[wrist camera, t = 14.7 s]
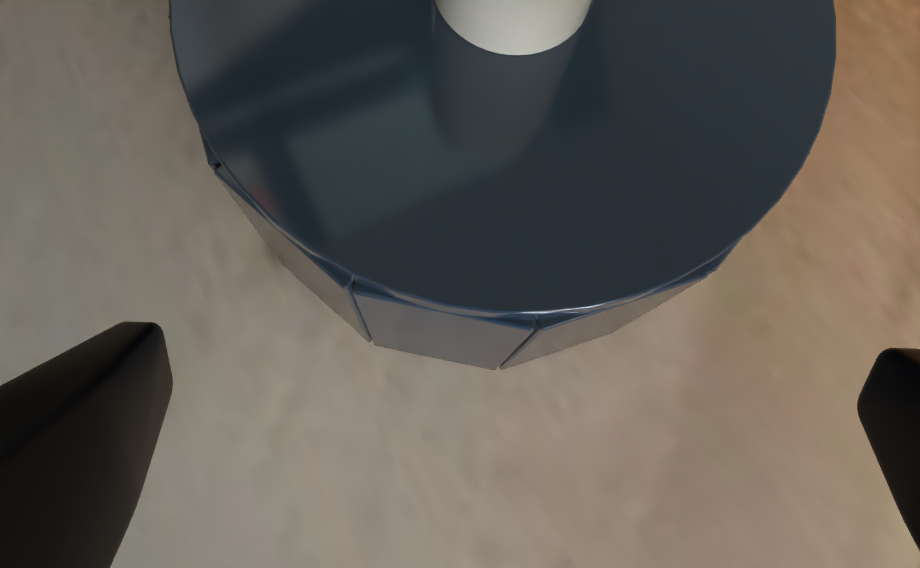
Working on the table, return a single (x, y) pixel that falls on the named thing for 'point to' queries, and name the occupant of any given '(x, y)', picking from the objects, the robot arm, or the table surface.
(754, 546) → the table surface
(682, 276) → the cover
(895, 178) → the table surface
